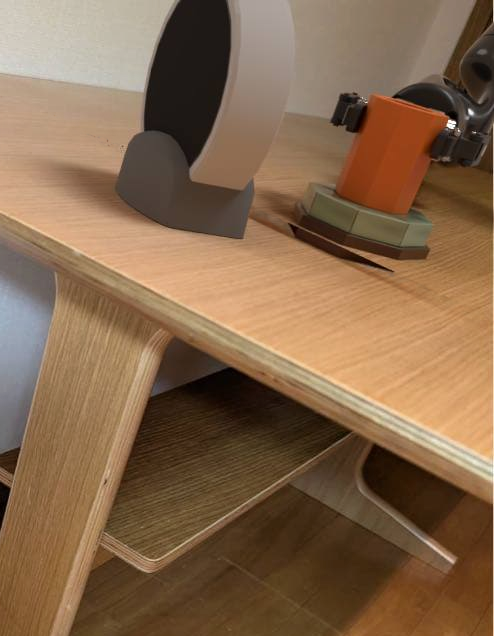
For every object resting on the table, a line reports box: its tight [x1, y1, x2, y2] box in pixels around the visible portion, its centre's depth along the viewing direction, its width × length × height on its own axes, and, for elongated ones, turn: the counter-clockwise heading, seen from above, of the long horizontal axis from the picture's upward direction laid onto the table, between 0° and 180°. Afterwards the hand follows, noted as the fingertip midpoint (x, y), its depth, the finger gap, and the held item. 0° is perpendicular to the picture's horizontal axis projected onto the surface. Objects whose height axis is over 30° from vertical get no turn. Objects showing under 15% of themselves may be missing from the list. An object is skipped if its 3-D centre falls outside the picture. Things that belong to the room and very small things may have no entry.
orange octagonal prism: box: [335, 93, 450, 214], centre depth 71 cm, size 6×6×8 cm
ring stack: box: [288, 181, 435, 273], centre depth 75 cm, size 12×12×4 cm
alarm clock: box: [115, 0, 296, 240], centre depth 66 cm, size 16×10×18 cm, turn 18°
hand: (395, 131), depth 69 cm, fingers closed on orange octagonal prism, 7 cm apart
